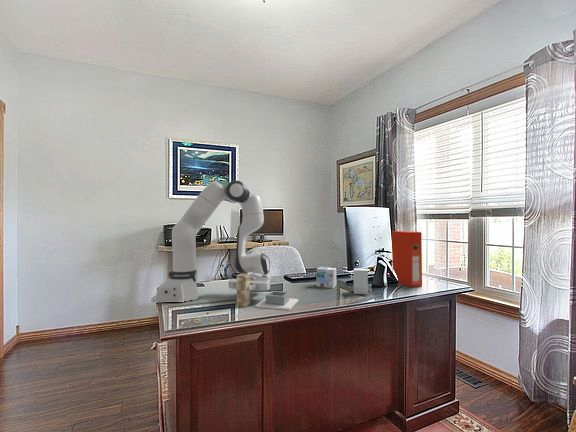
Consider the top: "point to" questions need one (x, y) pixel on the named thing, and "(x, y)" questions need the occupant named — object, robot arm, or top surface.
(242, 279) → the maple post
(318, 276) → the light bulb box
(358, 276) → the supplement box
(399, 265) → the file binder
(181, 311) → the top surface
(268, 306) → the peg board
